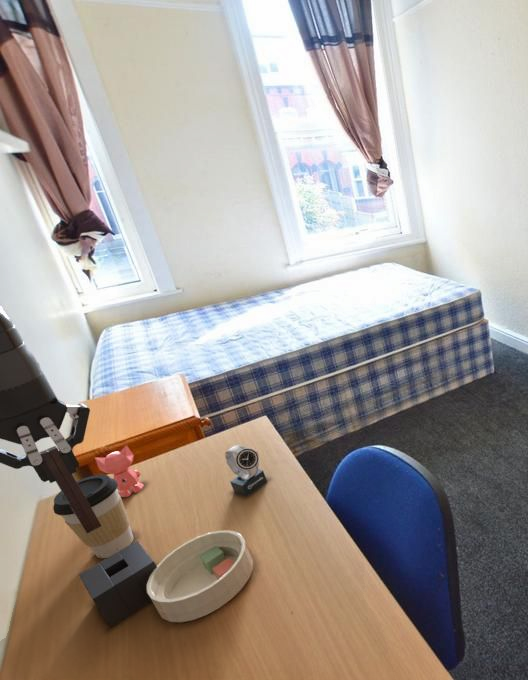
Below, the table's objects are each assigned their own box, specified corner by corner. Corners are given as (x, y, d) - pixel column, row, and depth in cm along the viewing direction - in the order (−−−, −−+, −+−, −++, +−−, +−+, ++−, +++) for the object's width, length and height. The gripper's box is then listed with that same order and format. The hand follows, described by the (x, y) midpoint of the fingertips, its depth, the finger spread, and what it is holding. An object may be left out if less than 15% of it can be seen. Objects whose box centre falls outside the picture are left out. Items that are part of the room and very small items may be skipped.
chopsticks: (87, 533, 77) (40, 454, 71) (85, 530, 78) (38, 452, 72) (101, 526, 79) (57, 448, 72) (99, 523, 79) (55, 445, 73)
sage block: (211, 575, 87) (206, 563, 86) (204, 567, 88) (199, 556, 87) (228, 563, 89) (223, 552, 88) (221, 556, 91) (216, 545, 89)
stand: (110, 628, 79) (92, 599, 76) (96, 602, 84) (78, 574, 81) (168, 589, 85) (153, 561, 83) (151, 567, 91) (137, 540, 88)
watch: (252, 498, 106) (236, 459, 102) (229, 490, 110) (213, 452, 106) (272, 482, 111) (258, 444, 107) (250, 475, 114) (236, 438, 110)
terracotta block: (224, 588, 84) (218, 576, 83) (217, 580, 86) (211, 568, 84) (241, 576, 86) (236, 564, 85) (234, 568, 88) (228, 557, 86)
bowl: (178, 641, 76) (165, 619, 74) (146, 596, 84) (133, 574, 82) (269, 573, 87) (260, 552, 84) (232, 539, 95) (223, 519, 93)
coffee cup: (134, 521, 103) (105, 466, 97) (151, 539, 97) (121, 482, 91) (78, 552, 96) (43, 495, 90) (93, 574, 90) (56, 514, 84)
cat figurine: (146, 478, 117) (126, 438, 112) (152, 489, 113) (131, 448, 108) (111, 493, 113) (89, 452, 108) (116, 506, 108) (93, 464, 103)
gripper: (-62, 408, 60) (7, 512, 67) (74, 365, 70) (122, 459, 77) (-67, 394, 64) (-1, 493, 71) (61, 355, 74) (108, 445, 81)
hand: (62, 475), depth 74 cm, fingers closed on chopsticks
